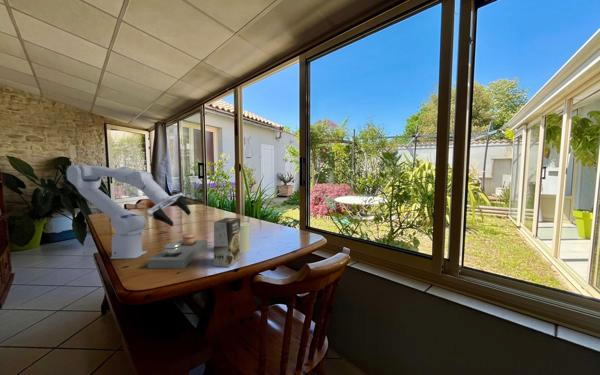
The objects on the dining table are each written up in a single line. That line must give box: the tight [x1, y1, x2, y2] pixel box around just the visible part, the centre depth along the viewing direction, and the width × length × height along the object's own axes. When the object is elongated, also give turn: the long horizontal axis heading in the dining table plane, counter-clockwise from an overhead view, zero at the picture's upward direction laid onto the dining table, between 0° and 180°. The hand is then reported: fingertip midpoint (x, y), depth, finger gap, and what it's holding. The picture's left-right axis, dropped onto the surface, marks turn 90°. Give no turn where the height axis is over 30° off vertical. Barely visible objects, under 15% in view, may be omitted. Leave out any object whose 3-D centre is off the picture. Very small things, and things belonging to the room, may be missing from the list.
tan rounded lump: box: [181, 233, 196, 246], centre depth 103 cm, size 5×5×4 cm
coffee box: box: [213, 217, 241, 268], centre depth 90 cm, size 9×6×16 cm
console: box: [147, 239, 208, 269], centre depth 97 cm, size 12×25×3 cm, turn 2°
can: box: [240, 221, 251, 254], centre depth 105 cm, size 9×9×12 cm
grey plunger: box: [164, 242, 181, 257], centre depth 89 cm, size 5×5×4 cm
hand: (181, 218), depth 93 cm, fingers open, 7 cm apart
